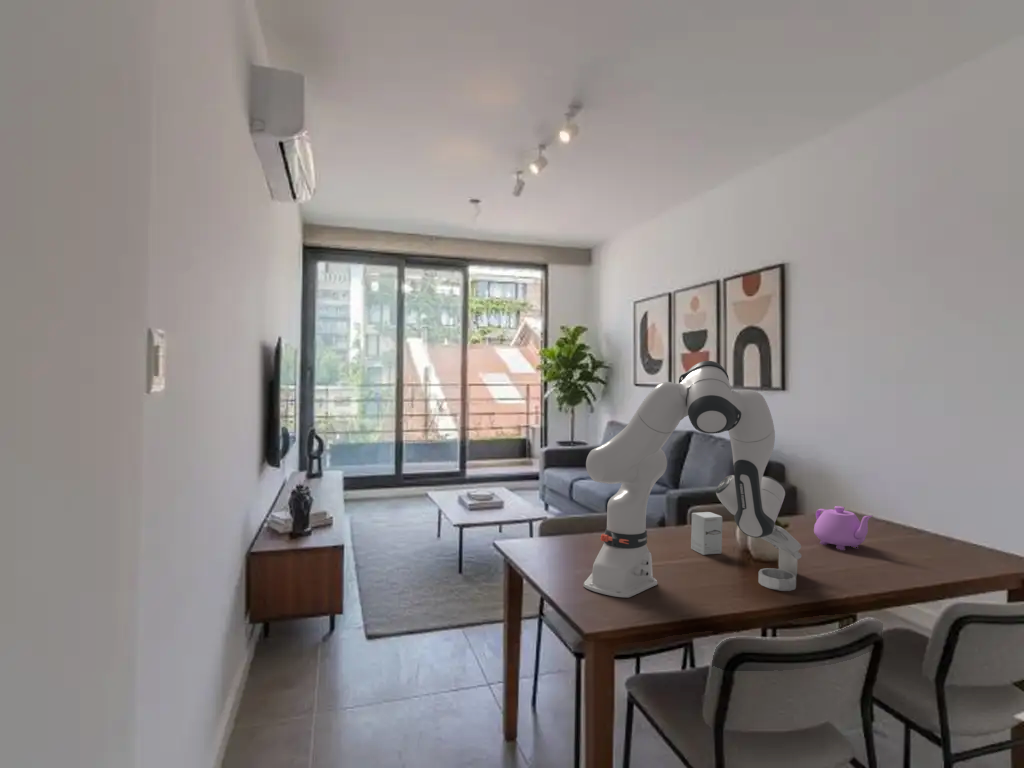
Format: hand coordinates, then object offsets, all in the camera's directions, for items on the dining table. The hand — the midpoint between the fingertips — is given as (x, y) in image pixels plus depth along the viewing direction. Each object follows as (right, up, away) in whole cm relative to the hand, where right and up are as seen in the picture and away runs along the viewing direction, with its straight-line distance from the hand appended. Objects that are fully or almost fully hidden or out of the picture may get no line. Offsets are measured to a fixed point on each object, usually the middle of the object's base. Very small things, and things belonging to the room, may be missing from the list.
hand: (789, 552), depth 165 cm
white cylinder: (0, -6, 0) cm, 6 cm away
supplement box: (-17, -6, +21) cm, 28 cm away
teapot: (+33, -7, +29) cm, 44 cm away
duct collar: (-8, -6, -9) cm, 14 cm away
